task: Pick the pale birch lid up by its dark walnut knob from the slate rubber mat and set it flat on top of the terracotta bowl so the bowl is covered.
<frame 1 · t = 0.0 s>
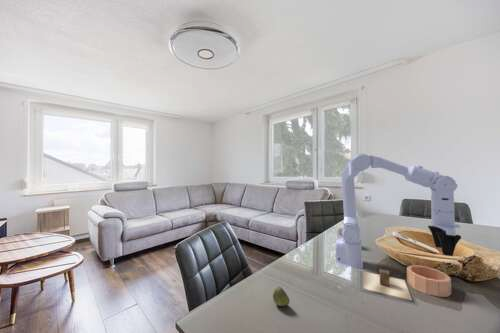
hand: (443, 251, 69), 10 cm above the table, tool pointing down, fingers open, 7 cm apart
lid: (384, 285, 65), resting on mat
lime: (281, 306, 56), on the table
donut: (344, 244, 103), on the table
bowl: (427, 288, 64), on the table, touching mat
mat: (384, 287, 65), on the table
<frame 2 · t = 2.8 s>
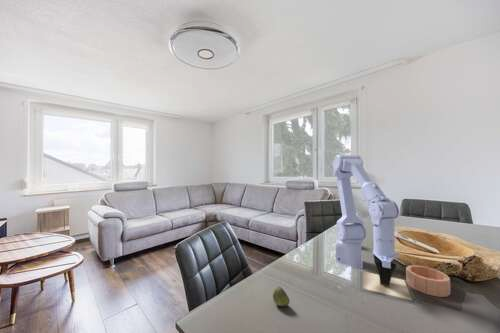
hand: (384, 281, 65), 2 cm above the table, tool pointing down, fingers closed on lid, 2 cm apart
lid: (384, 285, 65), resting on mat, touching gripper
everything else where it was.
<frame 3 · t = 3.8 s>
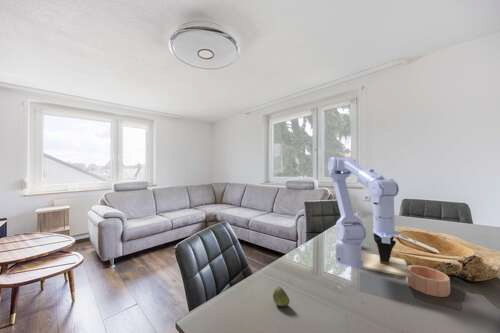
hand: (384, 259, 65), 9 cm above the table, tool pointing down, fingers closed on lid, 2 cm apart
lid: (384, 264, 65), point 7 cm above the table, touching gripper
everything else where it was.
when the fingers open (7 cm above the table, at t = 5.2 s): lid stays where it is, resting on bowl.
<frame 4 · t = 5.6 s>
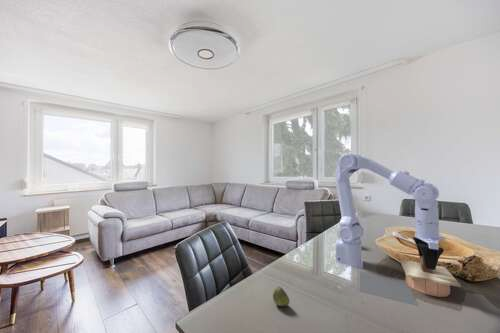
hand: (427, 264, 64), 7 cm above the table, tool pointing down, fingers open, 5 cm apart
lid: (426, 272, 64), point 5 cm above the table, touching bowl
bowl: (426, 288, 64), on the table, touching lid
everything else where it was.
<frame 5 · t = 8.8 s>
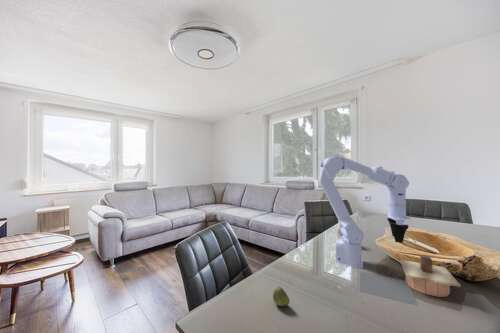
hand: (397, 239, 80), 10 cm above the table, tool pointing down, fingers open, 7 cm apart
nothing on the table moved.
at the end: lid 0.0 cm off-centre on the bowl, point 5.0 cm above the bowl's base; lid tilted 0°; lid touching bowl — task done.
